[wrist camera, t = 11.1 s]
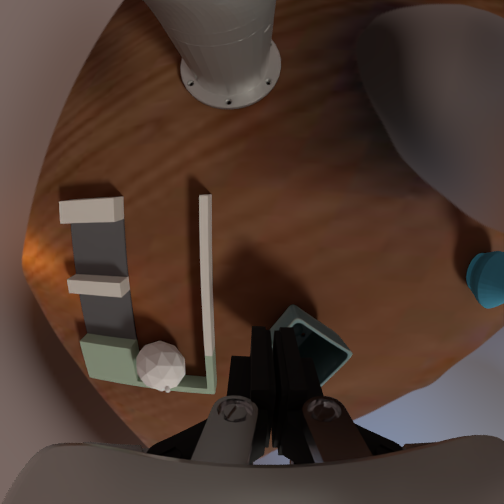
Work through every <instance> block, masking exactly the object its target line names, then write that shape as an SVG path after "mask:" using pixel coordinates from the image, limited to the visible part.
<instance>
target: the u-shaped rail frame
mask: <svg viewBox="0 0 504 504" xmlns="http://www.w3.org/2000/svg"><path fill="white" fill-rule="evenodd" d="M59 210H60V223H71V231H72V242H73V252H74V260H75V268H76V274H75V275H74V276H72V277H70V278H69V279H67V283H68V289H69V293H76V294H80V300H81V305H82V310H83V315H84V320H85V325H86V329H87V334H86V335H85V336H84V337H83V338H82V339H81V340H80V344H81V348H82V352H83V356H84V359H85V363H86V366H87V369H88V373H89V376H90V377H91V378H96V379H101V380H106V381H111V382H117V383H122V384H128V385H134V386H141V387H148V386H146V385H145V384H144V382H143V381H142V380H141V379H140V377H139V376H138V374H137V367H136V357H137V355H138V354H139V347H138V341H137V336H136V329H135V323H134V316H133V309H132V302H131V294H130V286H129V277H128V267H127V256H126V243H125V227H124V203H123V196H122V197H103V198H87V199H73V200H66V201H60V202H59ZM199 231H200V271H201V297H202V317H203V334H204V350H205V364H206V376H207V377H203V376H190V375H184V377H183V378H182V380H181V381H180V383H179V384H178V385H177V387H174V388H171V389H170V390H171V391H181V392H191V393H204V394H215V390H216V384H217V376H216V358H215V337H214V312H213V279H212V194H203V195H199ZM148 388H151V387H148Z"/></svg>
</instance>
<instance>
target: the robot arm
mask: <svg viewBox="0 0 504 504" xmlns="http://www.w3.org/2000/svg"><path fill="white" fill-rule="evenodd" d="M143 1H144V2H145V3H146V4H147V5H148V7H149V8H150V9H151V10H152V12H153V13H154V15H155V16H156V17H157V19H158V20H159V22H160V23H161V25H162V27H163V28H164V30H165V31H166V33H167V34H168V36H169V38H170V39H171V41H172V42H173V44H174V45H175V47H176V49H177V50H178V52H179V53H180V55H181V57H182V60H181V65H180V70H181V77H182V81H183V83H184V85H185V87H186V88H187V90H188V91H189V92H190V94H191V95H192V96H194V97H195V98H196V99H197V100H198V101H200V102H202V103H203V104H205V105H208V106H211V107H214V108H219V109H238V108H243V107H246V106H249V105H252V104H254V103H256V102H258V101H259V100H261V99H262V98H264V97H265V96H266V95H267V94H268V93H269V92H270V91H271V90H272V89H273V87H274V86H275V84H276V82H277V80H278V77H279V74H280V69H281V58H280V54H279V51H278V49H277V47H276V45H275V43H274V42H273V41H272V40H271V37H272V29H273V20H274V12H275V4H276V0H143ZM267 82H269V83H270V85H267V84H266V83H267ZM191 84H194V85H193V86H190V85H191ZM228 102H231V104H230V105H228V104H227V103H228ZM271 431H272V446H273V447H278V455H284V456H285V457H287V458H288V459H290V464H289V465H253V462H254V461H255V460H257V459H258V458H260V457H261V456H263V455H264V450H265V447H268V446H269V440H270V433H271ZM2 504H504V441H503V440H501V439H500V438H497V437H494V436H488V435H472V436H463V437H457V438H452V439H448V440H444V441H440V442H432V443H415V444H405V445H404V446H403V447H401V446H400V445H399V444H397V443H395V442H394V441H391V440H389V439H387V438H384V437H382V436H380V435H378V434H376V433H374V432H371V431H369V430H367V429H365V428H363V427H361V426H358V425H357V424H355V423H354V422H353V420H352V419H351V417H350V415H349V413H348V412H347V410H346V408H345V407H344V405H343V404H342V403H341V402H340V401H338V400H337V399H334V398H332V397H327V396H323V393H322V389H321V386H320V382H319V379H318V375H317V372H316V368H315V365H314V362H313V359H312V358H301V357H300V353H299V349H298V345H297V340H296V336H295V332H294V328H293V327H280V328H279V330H274V338H273V348H272V340H271V330H266V328H265V327H264V326H252V335H251V353H250V357H246V356H232V357H231V365H230V373H229V382H228V390H227V396H226V397H223V398H220V399H219V400H218V401H216V402H215V404H214V405H213V407H212V409H211V412H210V414H209V417H208V419H206V420H204V421H202V422H200V423H198V424H196V425H194V426H192V427H190V428H188V429H186V430H184V431H182V432H180V433H178V434H176V435H174V436H172V437H170V438H167V439H165V440H163V441H161V442H159V443H156V444H155V445H153V446H152V447H150V448H142V446H141V445H121V444H120V445H119V444H107V443H96V442H83V443H59V444H53V445H50V446H47V447H45V448H43V449H41V450H40V451H39V452H37V453H36V454H35V455H34V456H33V457H32V458H31V459H30V460H29V462H28V463H27V464H26V465H25V467H24V468H23V469H22V471H21V472H20V473H19V475H18V477H17V478H16V480H15V481H14V483H13V484H12V487H11V488H10V489H9V491H8V493H7V494H6V496H5V498H4V500H3V502H2Z"/></svg>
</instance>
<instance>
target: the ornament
mask: <svg viewBox="0 0 504 504" xmlns="http://www.w3.org/2000/svg"><path fill="white" fill-rule="evenodd" d="M136 367H137V374H138V376H139V377H140V379H141V380H142V381H143V382H144V384H145V385H146V386H148V387H151V388H154V389H157V390H160V391H164V390H166V392H167V393H169V392H170V389H171V388H174V387H177V385H178V384H179V383H180V381H181V380H182V378H183V377H184V375H185V358H184V357H183V355H182V354H181V353H180V352H179V350H178V349H177V348H176V346H175V345H172V344H169V343H166V342H163V341H157V342H154V343H150V344H147V345H145V346H144V347H143V348H142V349H141V351H140V352H139V354H138V355H137V357H136Z"/></svg>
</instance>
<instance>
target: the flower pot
mask: <svg viewBox="0 0 504 504" xmlns="http://www.w3.org/2000/svg"><path fill="white" fill-rule="evenodd" d="M280 327H293V328H294V332H295V336H296V340H297V345H298V349H299V353H300V357H301V358H312V359H313V362H314V365H315V368H316V372H317V375H318V379H319V382H320V386H321V387H322V385H324V384H325V383H326V382H327V381H328V380H329V379H330V378H331V377H332V376H333V375H334V374H335V373H336V372H337V371H338V370H339V369H340V368H341V367H342V366H343V365H344V364H345V363H346V362H347V361H348V360H349V359H350V358H351V356H352V354H353V353H352V352H351V351H350V349H349V348H348V347H347V345H346V344H345V343H344V342H343V340H342V339H341V338H340V337H339V336H338V335H337V334H336V333H335V332H334V331H333V330H331V329H330V328H328V327H327V326H325V325H324V324H322V323H321V322H319V321H318V320H316V319H315V318H313V317H312V316H310V315H309V314H307V313H306V312H305V311H303V310H302V309H300V308H299V307H298V306H296V305H290V306H289V307H288V308H287V310H286V311H285V312H284V313H283V314H282V316H281V317H280V318H279V319H278V320H277V322H276V323H275V324H274V325H273V326H272V327H271V329H270V330H271V340H272V348H273V338H274V330H279V328H280ZM302 333H305V335H304V336H302V335H301V334H302Z"/></svg>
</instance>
